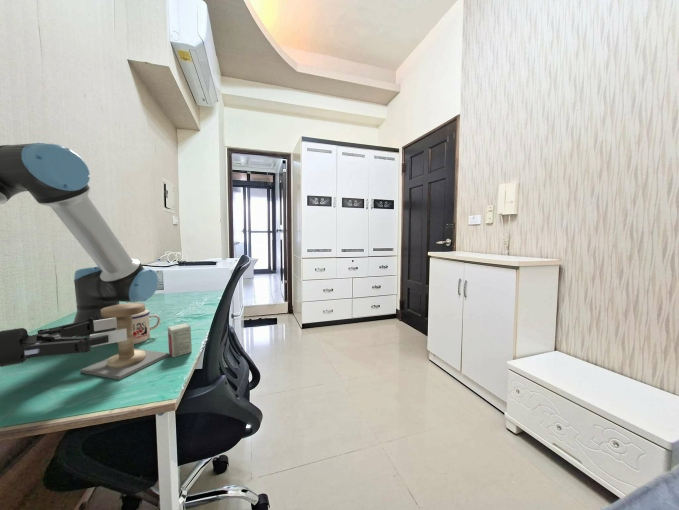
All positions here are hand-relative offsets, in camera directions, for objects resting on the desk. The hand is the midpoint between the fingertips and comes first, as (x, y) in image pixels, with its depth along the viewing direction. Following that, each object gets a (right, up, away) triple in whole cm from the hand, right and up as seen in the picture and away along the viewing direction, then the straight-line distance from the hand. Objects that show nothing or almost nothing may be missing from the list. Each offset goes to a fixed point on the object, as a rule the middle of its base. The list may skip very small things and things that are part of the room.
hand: (126, 327), depth 70 cm
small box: (+10, -10, +7) cm, 16 cm away
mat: (0, -10, +1) cm, 10 cm away
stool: (0, -9, +1) cm, 9 cm away
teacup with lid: (-10, -9, +18) cm, 22 cm away
